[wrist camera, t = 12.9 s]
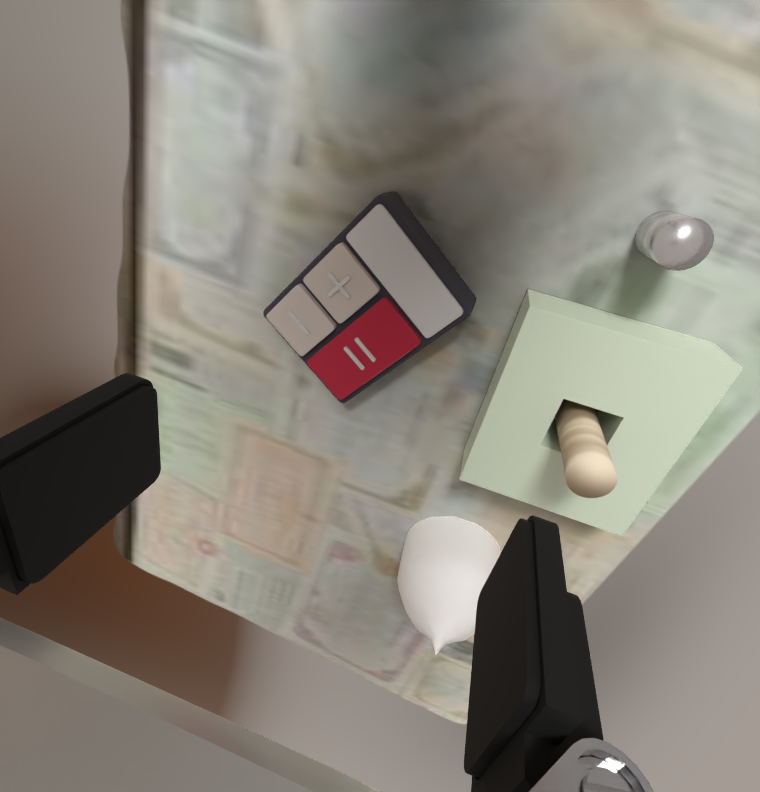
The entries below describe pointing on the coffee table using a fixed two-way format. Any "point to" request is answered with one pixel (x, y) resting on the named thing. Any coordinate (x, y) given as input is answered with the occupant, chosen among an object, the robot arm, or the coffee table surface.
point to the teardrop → (445, 576)
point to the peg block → (598, 388)
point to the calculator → (370, 299)
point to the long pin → (584, 451)
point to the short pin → (674, 239)
